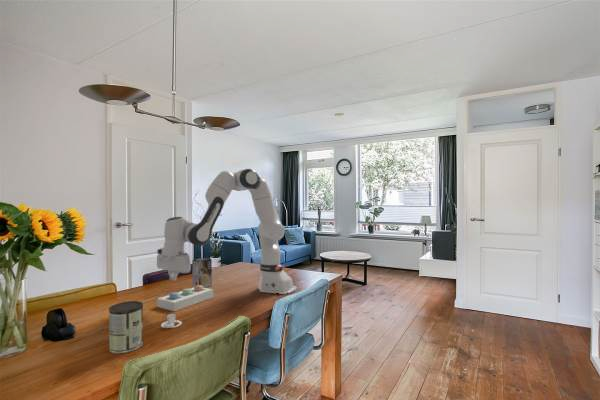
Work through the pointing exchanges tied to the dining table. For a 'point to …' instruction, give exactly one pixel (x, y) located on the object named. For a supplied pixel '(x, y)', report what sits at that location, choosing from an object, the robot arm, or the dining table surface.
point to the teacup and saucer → (170, 322)
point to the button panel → (185, 299)
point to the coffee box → (202, 272)
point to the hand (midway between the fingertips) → (173, 279)
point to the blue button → (174, 296)
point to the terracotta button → (198, 288)
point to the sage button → (186, 292)
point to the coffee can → (125, 326)
